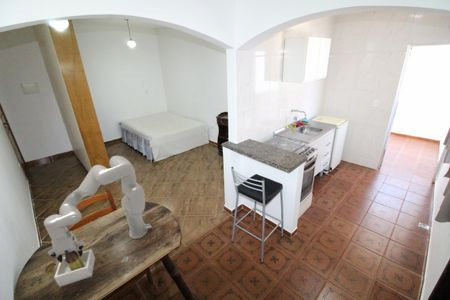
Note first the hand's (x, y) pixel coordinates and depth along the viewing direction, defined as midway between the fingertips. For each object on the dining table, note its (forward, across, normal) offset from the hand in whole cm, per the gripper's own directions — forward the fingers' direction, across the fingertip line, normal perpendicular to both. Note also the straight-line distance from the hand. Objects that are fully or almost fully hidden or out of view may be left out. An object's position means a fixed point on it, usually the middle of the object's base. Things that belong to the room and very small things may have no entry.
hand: (71, 257), depth 122 cm
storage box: (+12, 0, 0) cm, 12 cm away
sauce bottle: (+12, 0, 0) cm, 12 cm away
